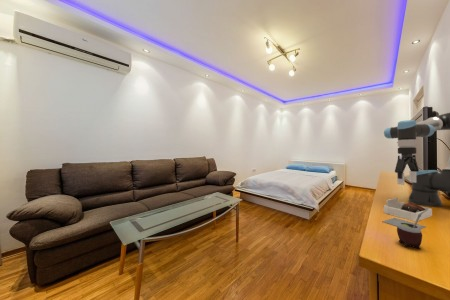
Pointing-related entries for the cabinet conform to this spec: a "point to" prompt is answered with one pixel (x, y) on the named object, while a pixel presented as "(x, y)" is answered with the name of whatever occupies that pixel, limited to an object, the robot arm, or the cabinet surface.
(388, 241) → the cabinet surface
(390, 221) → the slate mat
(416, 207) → the pottery mug
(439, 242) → the cabinet surface
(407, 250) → the cabinet surface
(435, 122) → the robot arm
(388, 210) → the carton
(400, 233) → the mate gourd
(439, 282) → the cabinet surface
